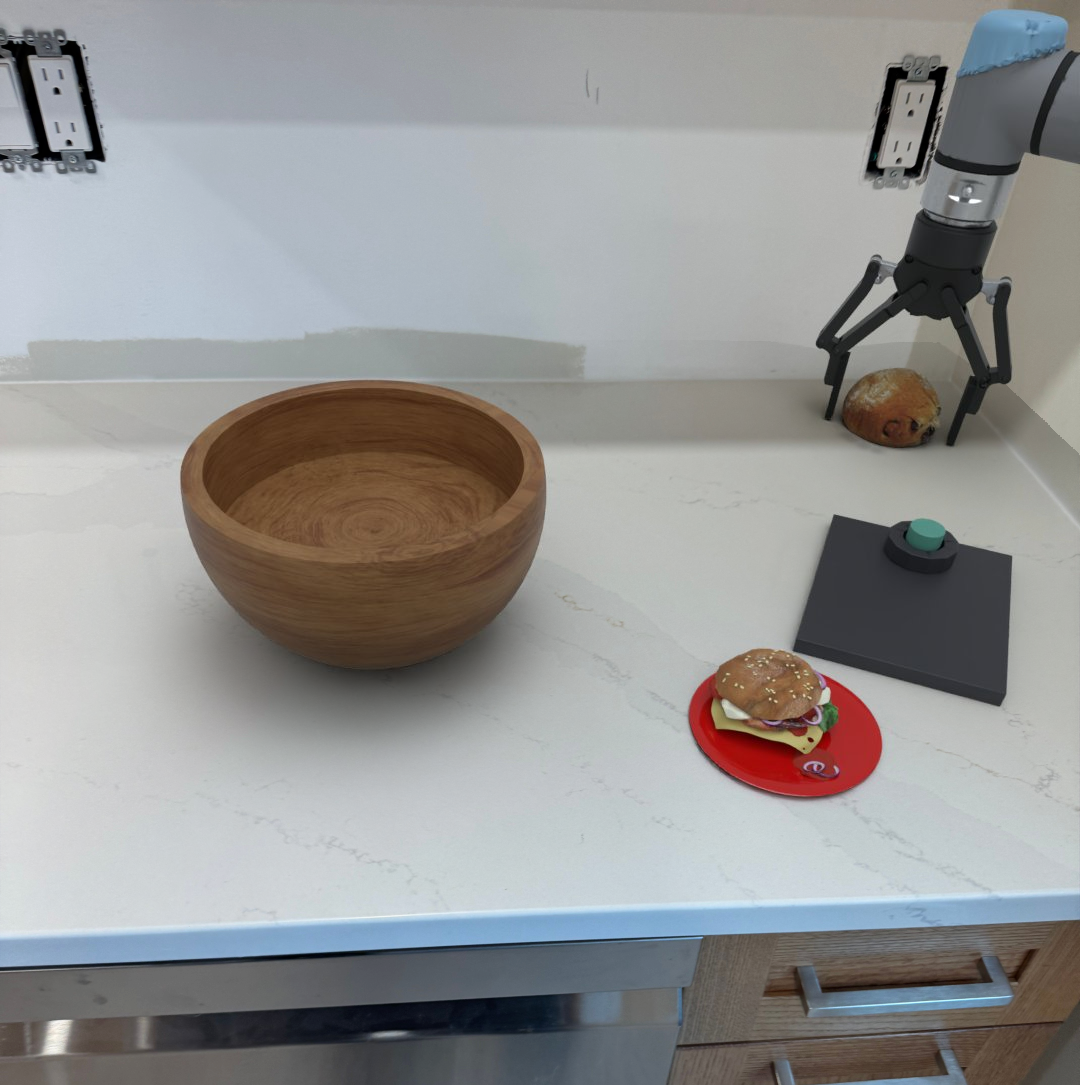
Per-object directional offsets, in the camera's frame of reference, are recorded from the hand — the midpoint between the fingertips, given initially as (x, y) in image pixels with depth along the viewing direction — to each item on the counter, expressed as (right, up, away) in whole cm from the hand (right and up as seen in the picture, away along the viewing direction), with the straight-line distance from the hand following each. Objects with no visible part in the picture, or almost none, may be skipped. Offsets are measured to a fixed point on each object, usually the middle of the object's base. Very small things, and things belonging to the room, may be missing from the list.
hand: (889, 426), depth 105 cm
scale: (-7, -23, -23) cm, 33 cm away
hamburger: (-21, -33, -35) cm, 52 cm away
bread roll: (0, 0, 0) cm, 0 cm away
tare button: (-5, -17, -21) cm, 27 cm away
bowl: (-51, -25, -29) cm, 64 cm away
